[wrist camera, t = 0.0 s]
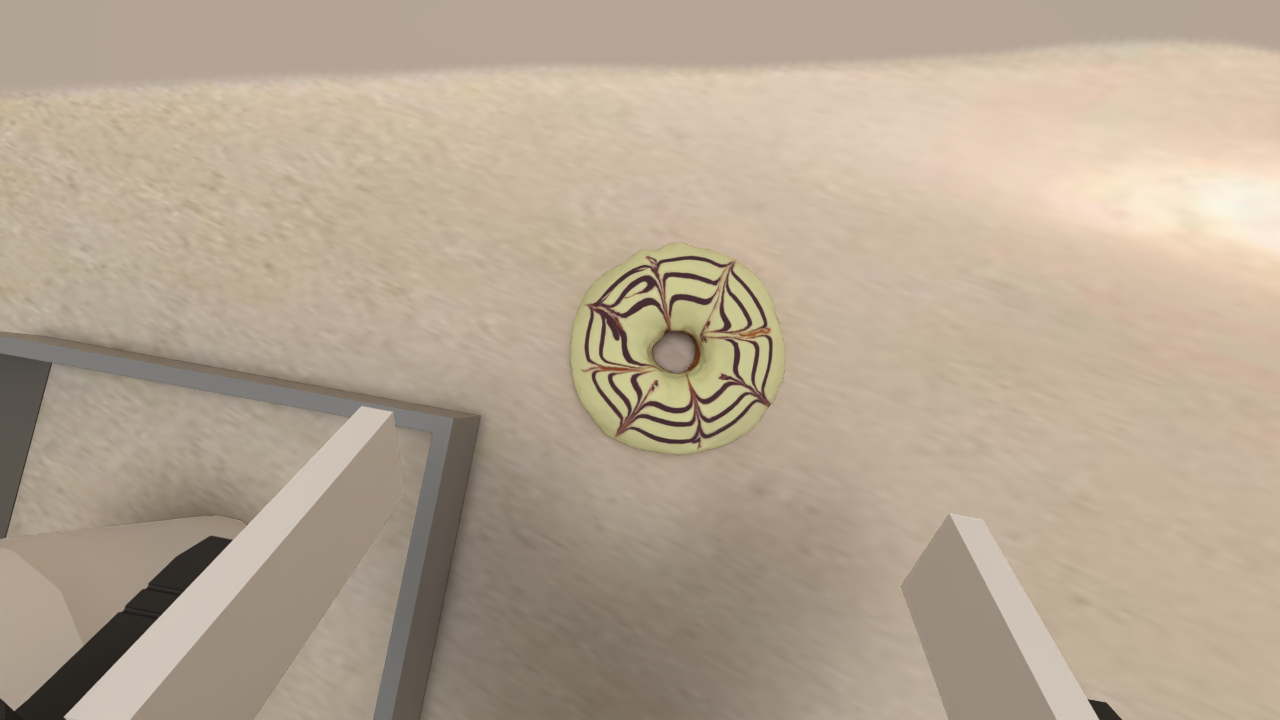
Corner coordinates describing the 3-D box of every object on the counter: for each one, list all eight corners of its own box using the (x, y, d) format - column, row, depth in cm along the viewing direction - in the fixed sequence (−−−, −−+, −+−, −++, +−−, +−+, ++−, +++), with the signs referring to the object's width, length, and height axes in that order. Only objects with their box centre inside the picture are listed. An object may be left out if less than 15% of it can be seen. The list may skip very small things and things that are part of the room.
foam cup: (337, 559, 27) (64, 703, 15) (224, 705, 27) (-163, 988, 14) (202, 450, 28) (-179, 495, 15) (89, 591, 27) (-407, 764, 14)
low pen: (395, 834, 26) (351, 912, 22) (-65, 742, 27) (-189, 802, 23) (480, 415, 28) (453, 418, 24) (43, 336, 28) (-55, 325, 24)
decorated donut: (557, 284, 29) (544, 266, 25) (745, 240, 29) (760, 216, 25) (599, 469, 28) (592, 480, 24) (792, 423, 28) (815, 427, 24)
